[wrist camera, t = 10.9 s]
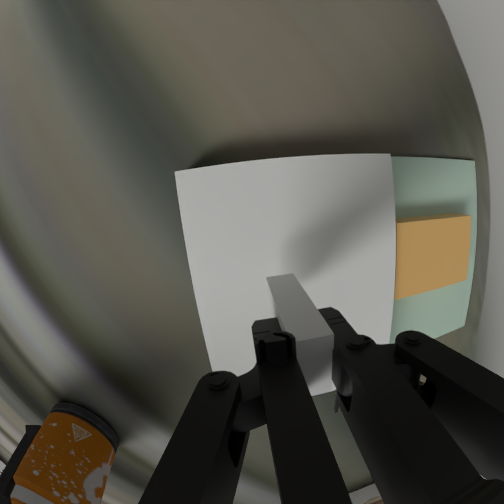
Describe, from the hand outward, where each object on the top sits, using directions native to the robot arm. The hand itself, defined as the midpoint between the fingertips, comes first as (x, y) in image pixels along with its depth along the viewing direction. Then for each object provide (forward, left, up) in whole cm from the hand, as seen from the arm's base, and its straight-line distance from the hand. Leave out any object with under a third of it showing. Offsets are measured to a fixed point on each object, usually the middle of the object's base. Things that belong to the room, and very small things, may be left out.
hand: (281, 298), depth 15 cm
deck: (+1, +2, -5) cm, 6 cm away
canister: (+16, -24, -6) cm, 30 cm away
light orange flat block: (0, +14, -5) cm, 15 cm away
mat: (+1, +16, -5) cm, 17 cm away
